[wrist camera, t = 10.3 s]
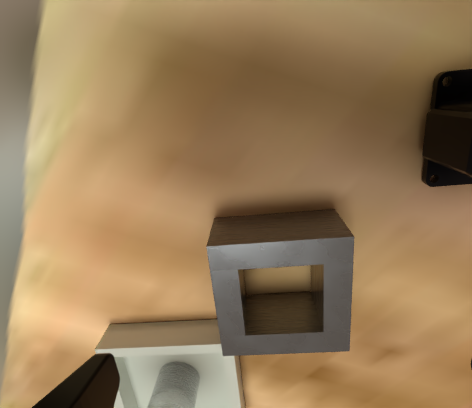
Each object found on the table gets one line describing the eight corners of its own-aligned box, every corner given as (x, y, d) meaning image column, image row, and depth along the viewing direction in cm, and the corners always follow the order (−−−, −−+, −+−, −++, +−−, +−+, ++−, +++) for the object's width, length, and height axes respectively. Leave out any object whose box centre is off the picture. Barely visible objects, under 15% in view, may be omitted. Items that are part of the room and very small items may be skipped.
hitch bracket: (334, 209, 20) (354, 236, 16) (332, 308, 23) (349, 350, 19) (214, 218, 21) (206, 246, 17) (227, 313, 23) (222, 356, 20)
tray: (234, 318, 23) (232, 343, 21) (245, 408, 27) (245, 439, 25) (109, 324, 24) (94, 349, 22) (136, 411, 28) (125, 441, 25)
